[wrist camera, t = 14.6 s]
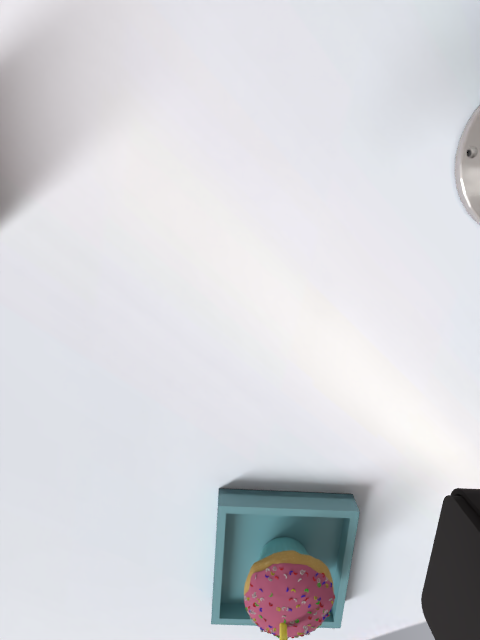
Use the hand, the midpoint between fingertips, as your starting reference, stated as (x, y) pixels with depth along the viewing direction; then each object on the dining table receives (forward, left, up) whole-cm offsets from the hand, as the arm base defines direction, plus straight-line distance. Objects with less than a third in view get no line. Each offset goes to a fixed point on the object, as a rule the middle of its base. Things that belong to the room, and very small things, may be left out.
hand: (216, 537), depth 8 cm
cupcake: (-7, +28, -28) cm, 40 cm away
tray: (-7, +28, -28) cm, 40 cm away
